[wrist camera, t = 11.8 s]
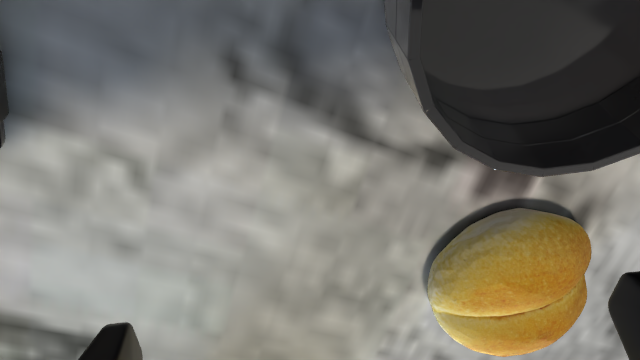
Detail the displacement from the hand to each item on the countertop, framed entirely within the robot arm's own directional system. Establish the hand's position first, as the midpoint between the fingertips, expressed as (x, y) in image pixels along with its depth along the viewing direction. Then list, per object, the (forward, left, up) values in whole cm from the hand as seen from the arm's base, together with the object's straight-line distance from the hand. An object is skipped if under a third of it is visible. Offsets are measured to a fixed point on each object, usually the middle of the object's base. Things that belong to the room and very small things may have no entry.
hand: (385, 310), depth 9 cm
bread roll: (+13, -10, -12) cm, 20 cm away
